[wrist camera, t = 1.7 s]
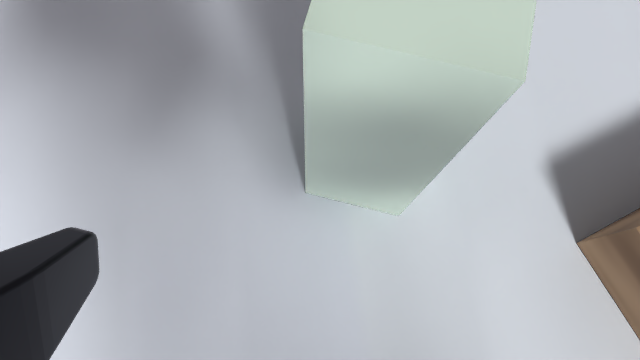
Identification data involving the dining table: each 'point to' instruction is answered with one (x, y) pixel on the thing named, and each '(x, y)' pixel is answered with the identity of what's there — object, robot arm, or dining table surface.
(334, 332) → the dining table surface
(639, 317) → the walnut base block
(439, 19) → the sage block
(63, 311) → the robot arm
